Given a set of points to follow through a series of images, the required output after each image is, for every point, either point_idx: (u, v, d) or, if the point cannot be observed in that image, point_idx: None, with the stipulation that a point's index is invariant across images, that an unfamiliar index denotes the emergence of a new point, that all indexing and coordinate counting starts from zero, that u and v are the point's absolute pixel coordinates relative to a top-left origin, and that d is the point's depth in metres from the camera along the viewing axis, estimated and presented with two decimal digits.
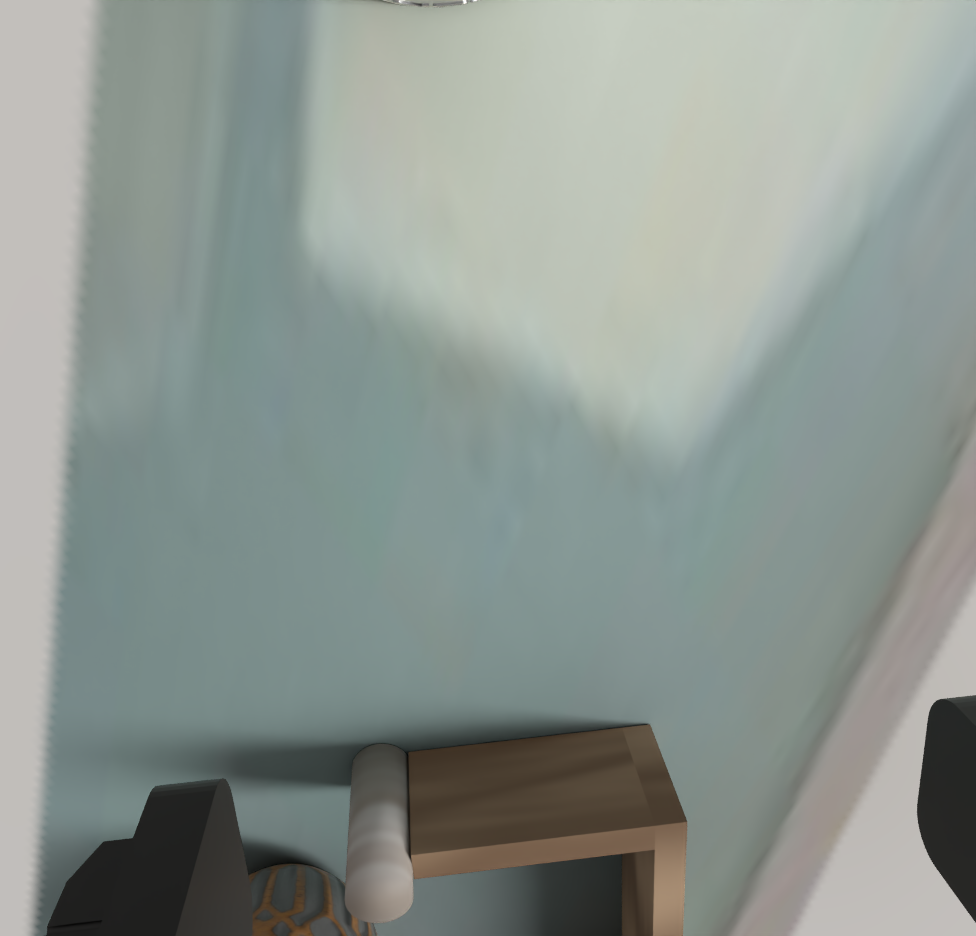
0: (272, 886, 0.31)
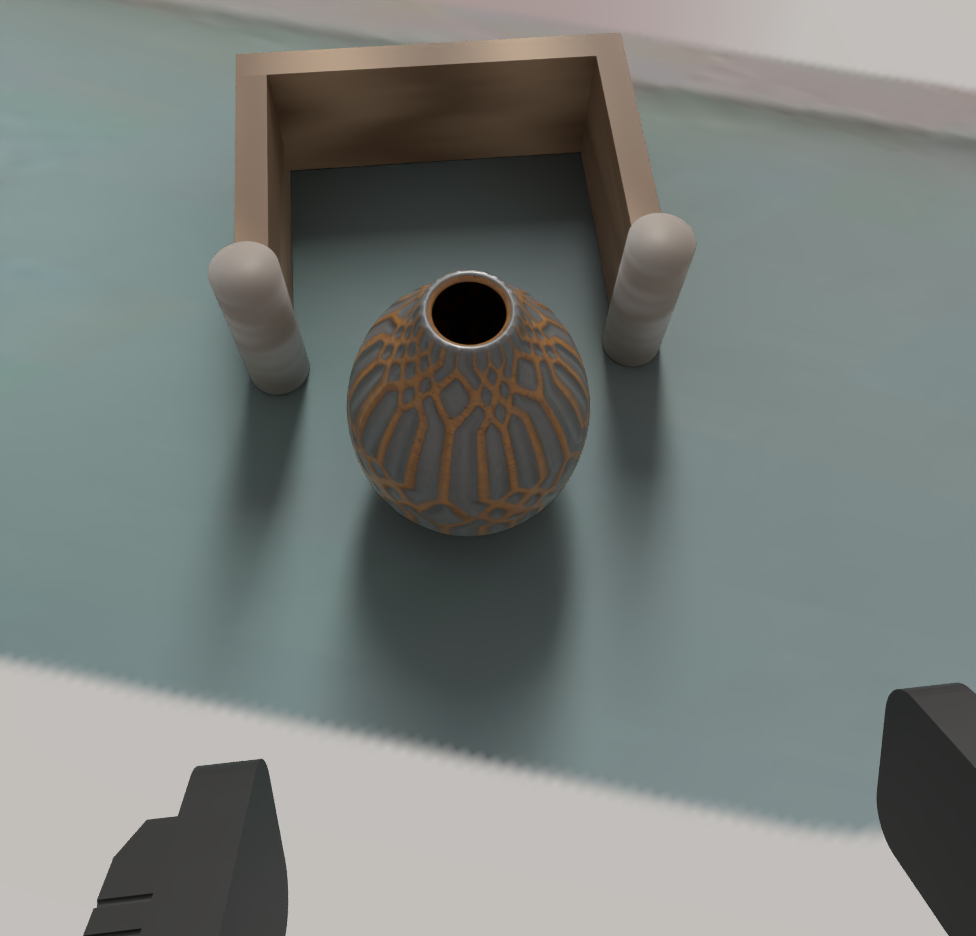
0: None
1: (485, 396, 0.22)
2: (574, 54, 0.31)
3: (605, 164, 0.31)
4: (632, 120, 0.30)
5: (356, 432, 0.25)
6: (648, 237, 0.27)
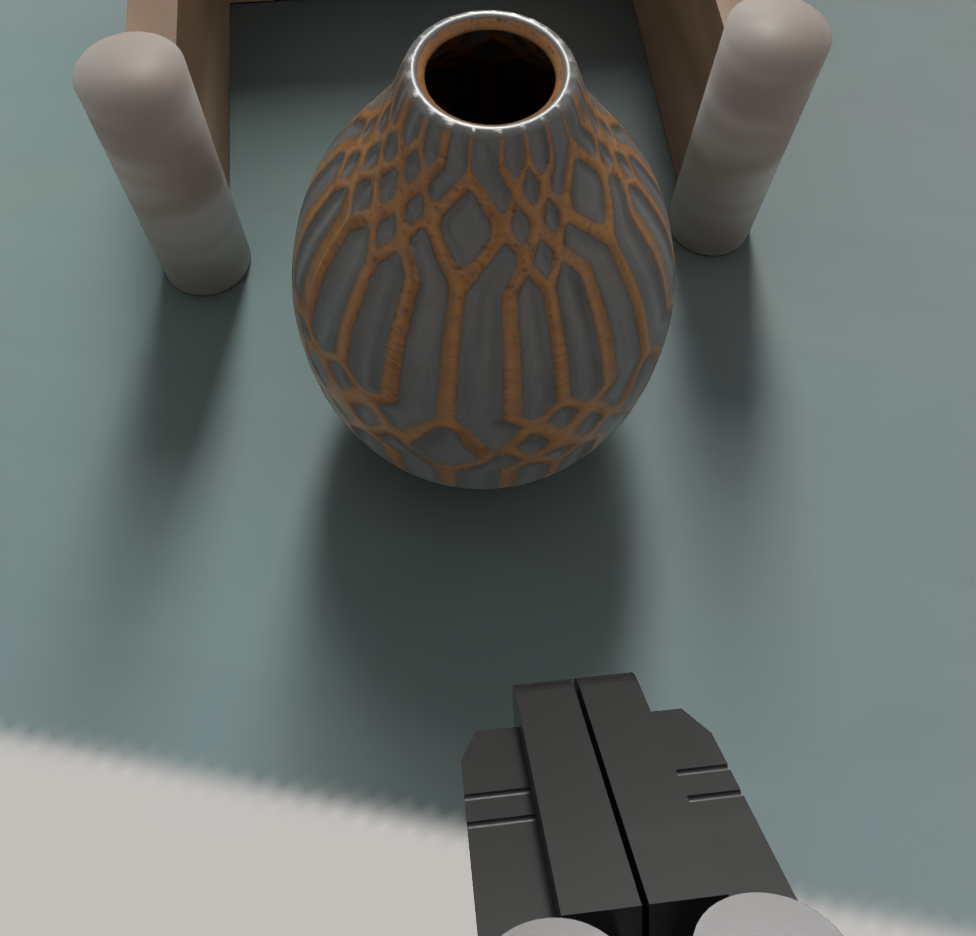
0: None
1: (518, 228, 0.13)
2: None
3: None
4: None
5: (304, 315, 0.15)
6: (757, 27, 0.17)
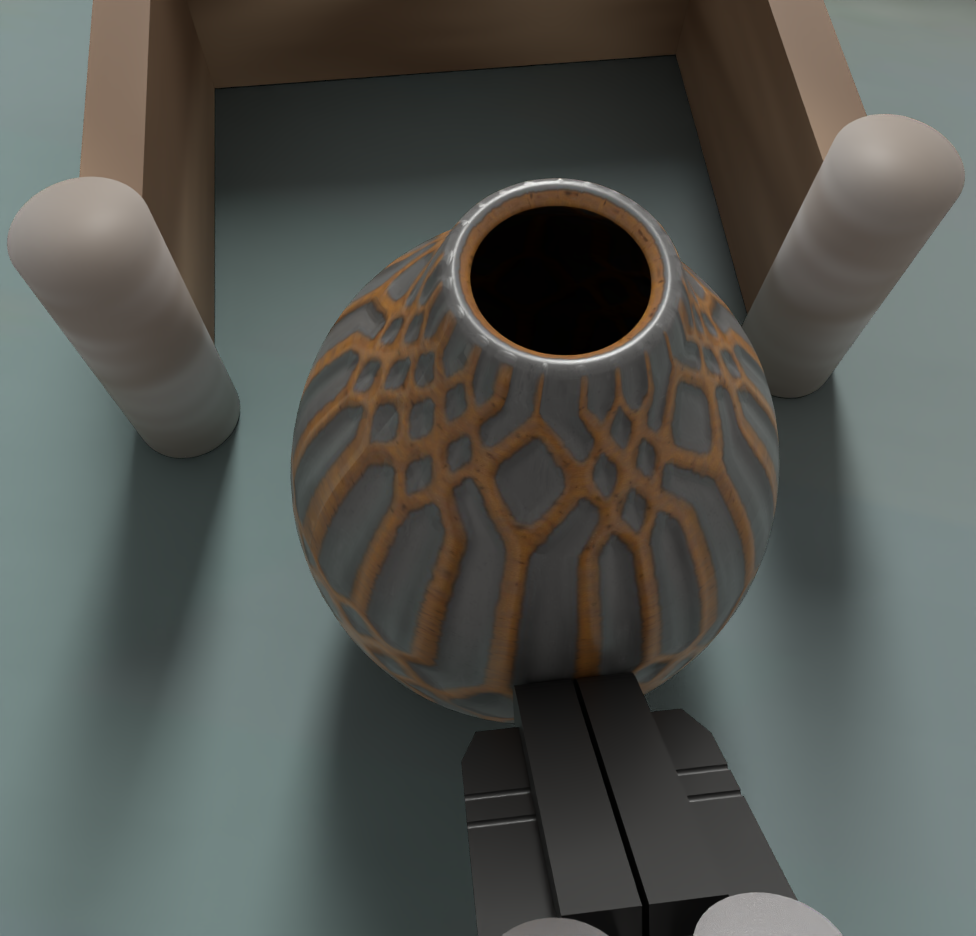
0: None
1: (603, 475, 0.09)
2: None
3: (740, 53, 0.18)
4: None
5: (309, 542, 0.12)
6: (870, 159, 0.14)
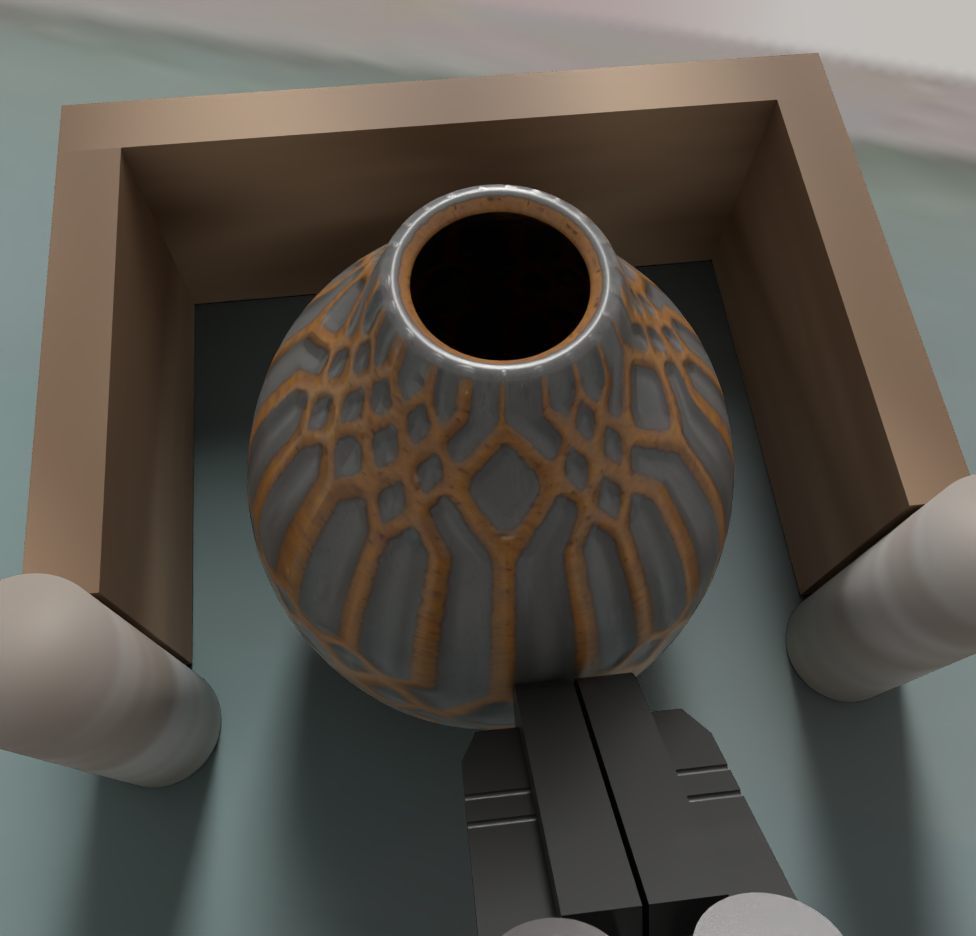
0: None
1: (574, 470, 0.09)
2: (733, 98, 0.16)
3: (797, 312, 0.16)
4: (867, 235, 0.15)
5: (285, 589, 0.12)
6: (975, 538, 0.12)
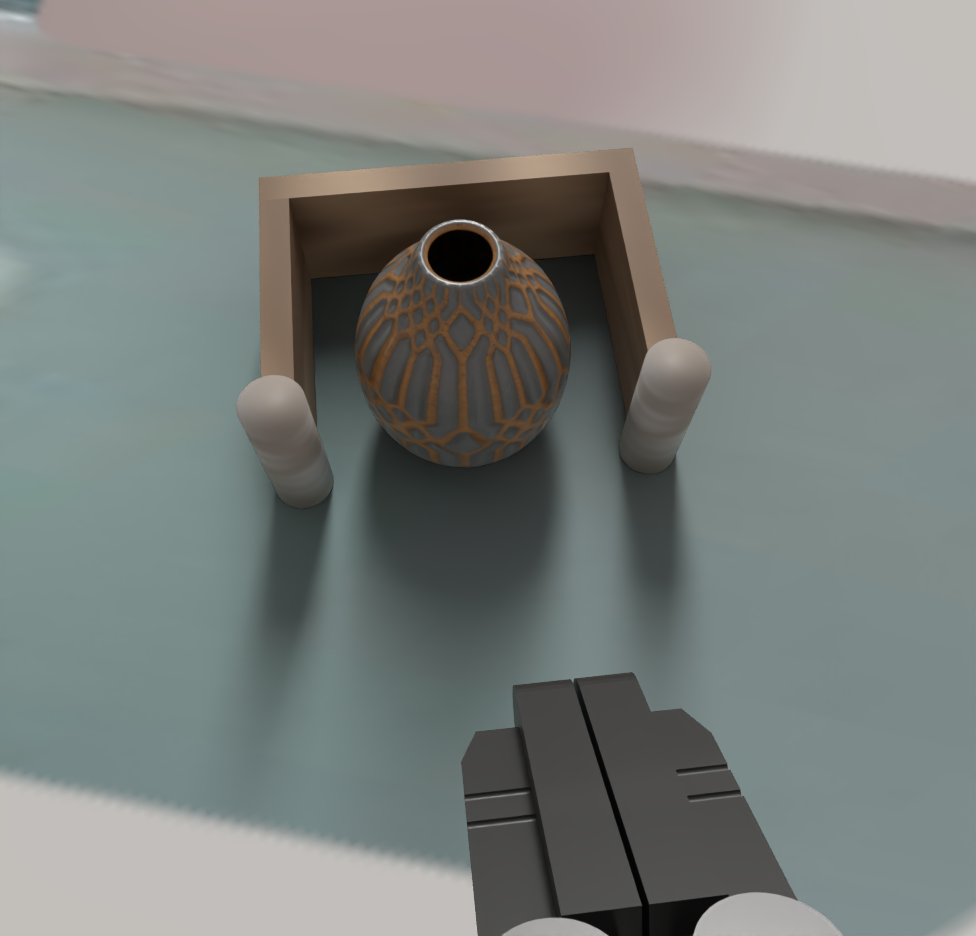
0: None
1: (488, 325, 0.26)
2: (587, 171, 0.32)
3: (619, 277, 0.32)
4: (645, 238, 0.31)
5: (374, 386, 0.28)
6: (664, 363, 0.27)
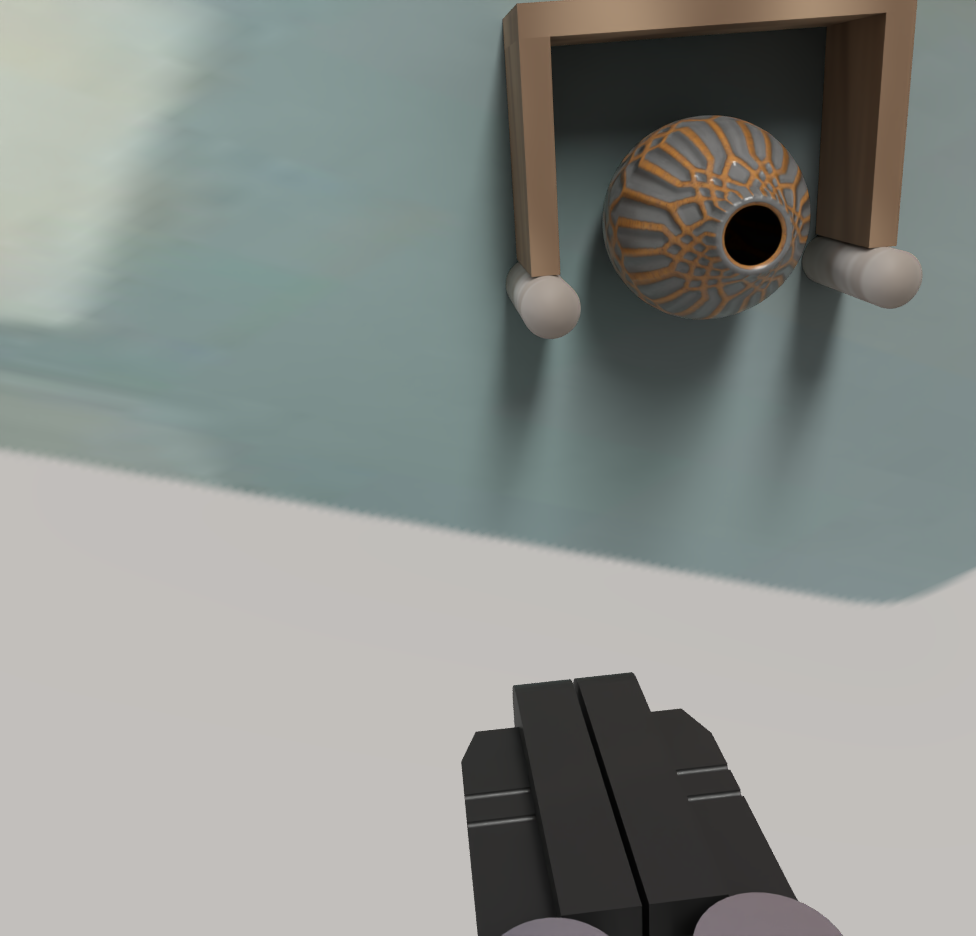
0: None
1: (757, 281, 0.29)
2: (864, 10, 0.30)
3: (857, 122, 0.32)
4: (900, 108, 0.31)
5: (632, 278, 0.32)
6: (884, 276, 0.32)
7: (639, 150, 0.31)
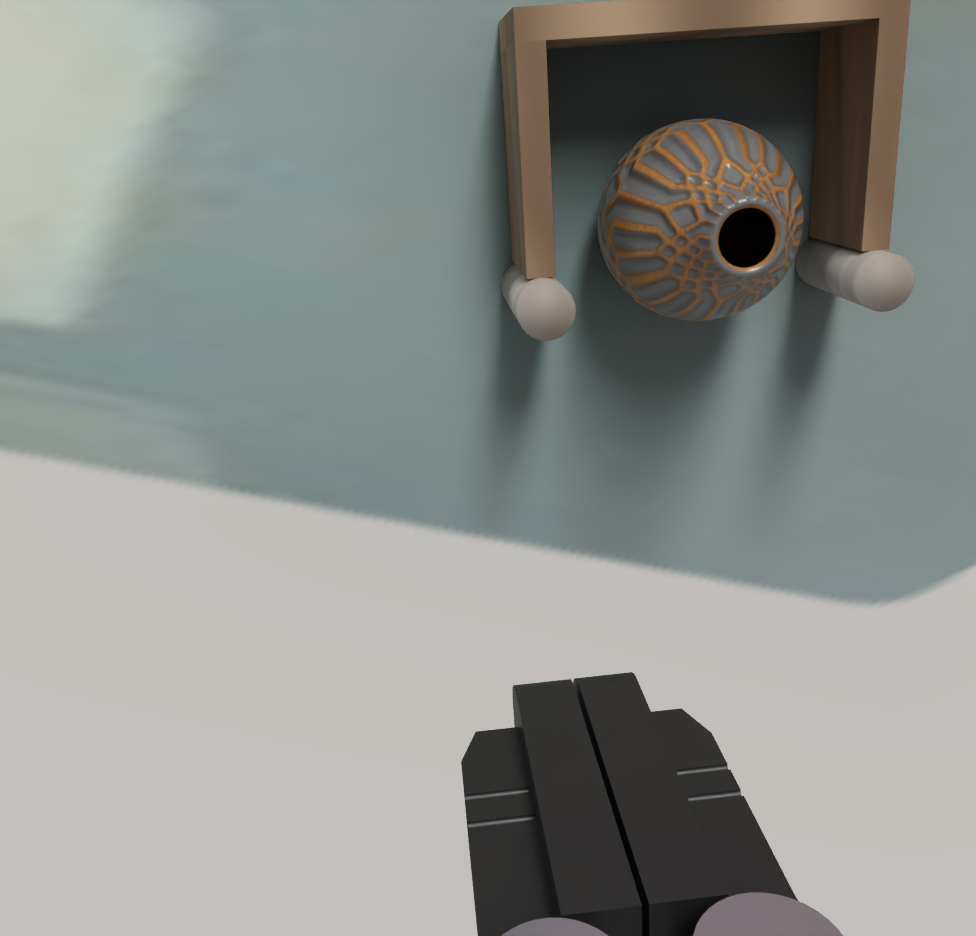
0: None
1: (751, 284, 0.30)
2: (857, 16, 0.30)
3: (850, 126, 0.33)
4: (893, 112, 0.31)
5: (626, 280, 0.32)
6: (876, 279, 0.32)
7: (634, 153, 0.31)
